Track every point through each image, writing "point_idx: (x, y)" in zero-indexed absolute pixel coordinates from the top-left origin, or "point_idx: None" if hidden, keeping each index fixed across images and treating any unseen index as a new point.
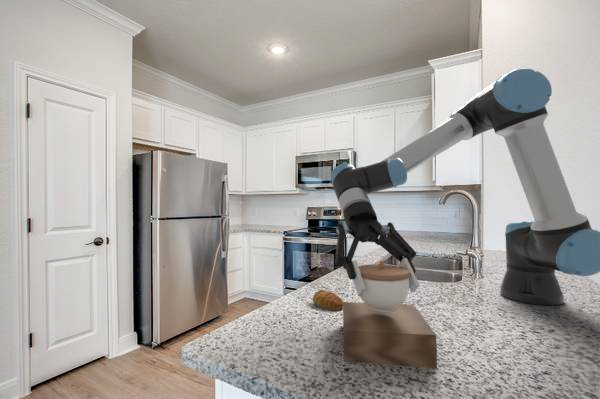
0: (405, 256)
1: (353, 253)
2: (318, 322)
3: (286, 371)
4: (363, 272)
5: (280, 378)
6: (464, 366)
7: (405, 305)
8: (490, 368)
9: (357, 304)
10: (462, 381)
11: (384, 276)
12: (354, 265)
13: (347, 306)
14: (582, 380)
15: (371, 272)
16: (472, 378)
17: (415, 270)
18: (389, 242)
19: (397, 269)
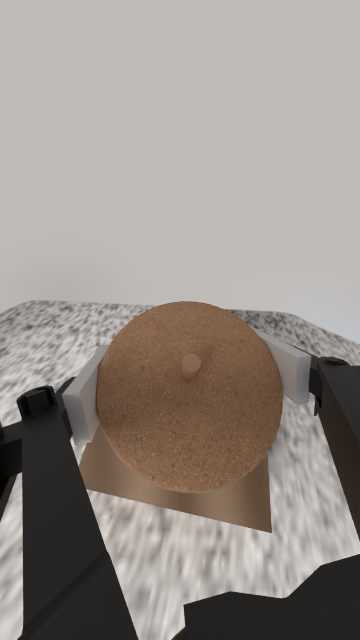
0: (57, 405)
1: (330, 378)
2: (312, 546)
3: (310, 344)
4: (256, 334)
5: (311, 332)
6: (105, 342)
7: (98, 478)
8: (79, 337)
9: (228, 498)
10: (129, 319)
11: (204, 303)
12: (294, 347)
13: (257, 479)
14: (10, 314)
15: (234, 326)
16: (115, 322)
17: (66, 381)
18: (74, 493)
19: (143, 352)
